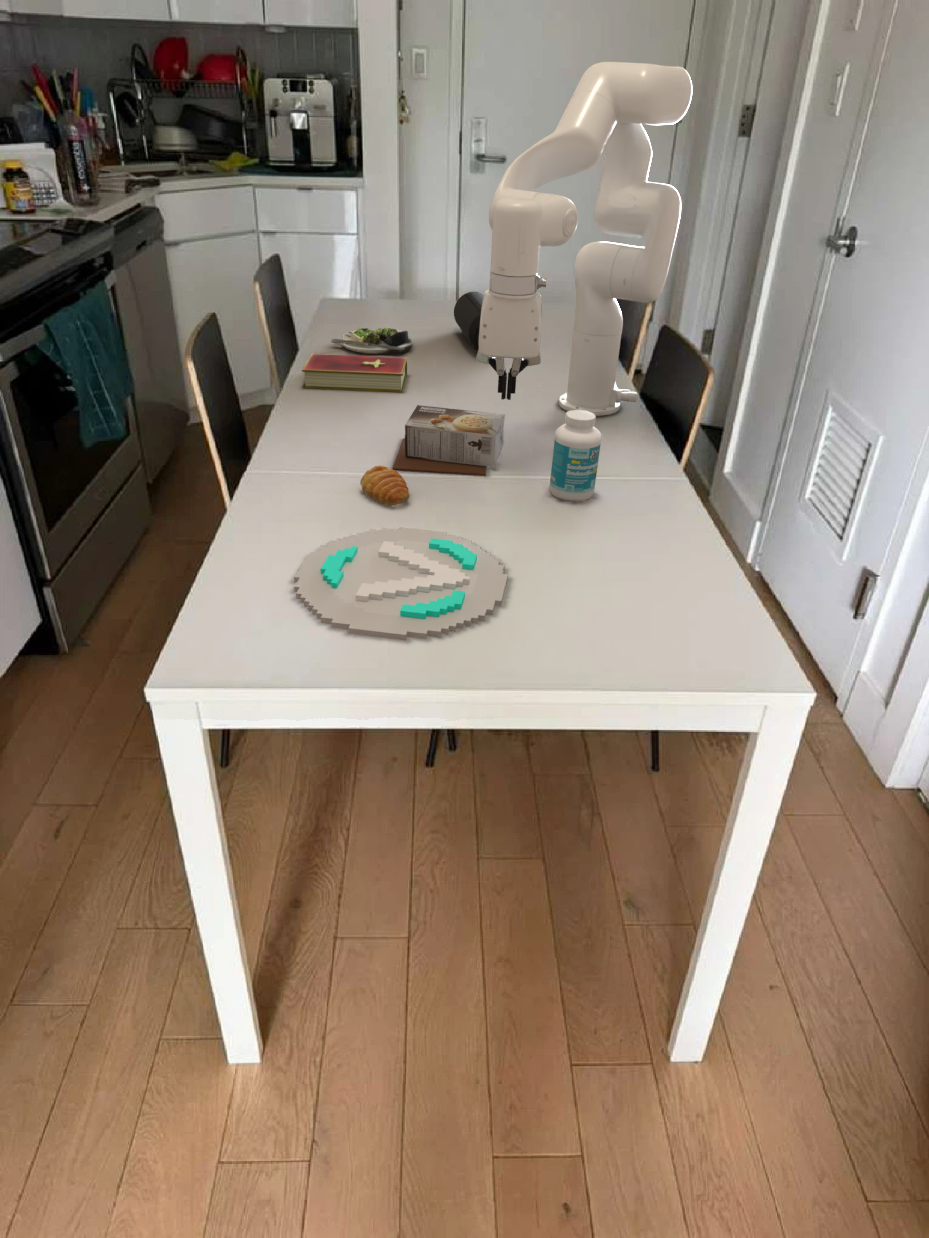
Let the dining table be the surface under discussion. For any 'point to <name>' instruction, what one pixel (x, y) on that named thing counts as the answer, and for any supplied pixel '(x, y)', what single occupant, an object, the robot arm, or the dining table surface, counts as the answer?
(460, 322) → the portable speaker
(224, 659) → the dining table surface
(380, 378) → the hardcover book
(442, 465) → the mat
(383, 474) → the pastry
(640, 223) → the robot arm
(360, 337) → the salad plate
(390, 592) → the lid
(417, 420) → the coffee box
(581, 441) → the pill bottle
